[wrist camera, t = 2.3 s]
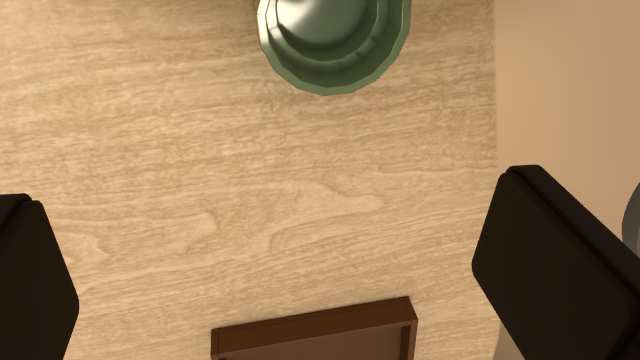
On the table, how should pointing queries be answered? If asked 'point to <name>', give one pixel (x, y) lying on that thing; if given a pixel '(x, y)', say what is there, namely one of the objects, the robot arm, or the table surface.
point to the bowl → (332, 40)
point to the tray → (325, 335)
